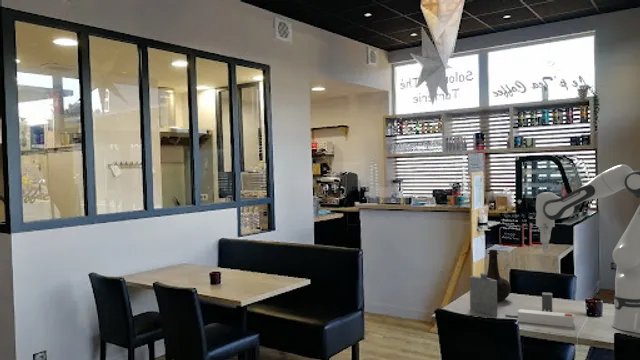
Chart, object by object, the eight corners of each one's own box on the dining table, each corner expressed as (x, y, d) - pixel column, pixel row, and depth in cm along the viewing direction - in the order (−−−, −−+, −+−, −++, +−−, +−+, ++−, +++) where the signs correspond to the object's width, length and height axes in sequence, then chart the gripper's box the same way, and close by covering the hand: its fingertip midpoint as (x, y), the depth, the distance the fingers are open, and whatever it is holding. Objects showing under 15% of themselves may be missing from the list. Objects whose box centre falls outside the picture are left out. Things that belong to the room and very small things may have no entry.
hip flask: (469, 309, 275) (468, 271, 274) (474, 308, 277) (473, 270, 277) (494, 316, 262) (494, 276, 261) (499, 314, 264) (499, 275, 264)
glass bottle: (500, 305, 283) (500, 253, 283) (471, 299, 296) (470, 250, 296) (516, 299, 295) (516, 249, 295) (488, 294, 308) (487, 246, 308)
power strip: (506, 317, 260) (506, 306, 260) (573, 323, 247) (573, 312, 246) (504, 320, 254) (504, 309, 254) (573, 327, 241) (573, 315, 241)
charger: (542, 311, 267) (542, 292, 267) (552, 312, 265) (552, 293, 265) (541, 315, 261) (541, 295, 261) (551, 316, 259) (551, 296, 259)
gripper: (550, 225, 261) (551, 253, 261) (552, 221, 279) (553, 247, 279) (537, 225, 263) (537, 252, 264) (539, 221, 282) (540, 247, 282)
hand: (545, 249), depth 272 cm, fingers open, 8 cm apart
